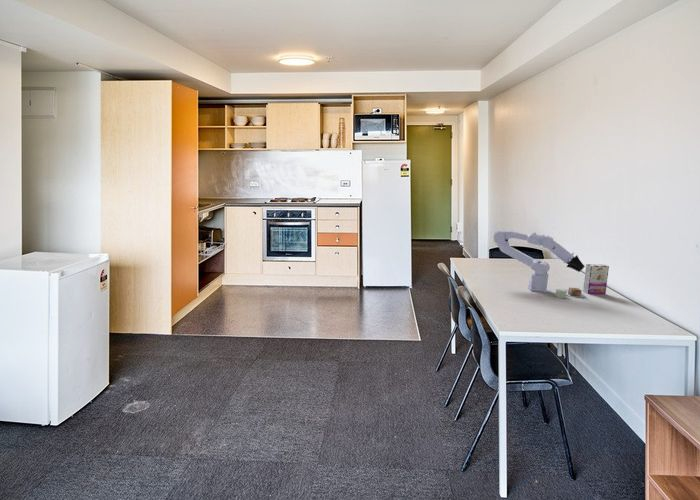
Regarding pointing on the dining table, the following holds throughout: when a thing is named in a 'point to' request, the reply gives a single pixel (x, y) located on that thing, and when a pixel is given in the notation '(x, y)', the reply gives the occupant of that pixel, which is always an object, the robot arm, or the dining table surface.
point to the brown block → (574, 292)
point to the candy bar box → (595, 279)
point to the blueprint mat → (574, 296)
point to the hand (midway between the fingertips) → (582, 269)
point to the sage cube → (560, 293)
